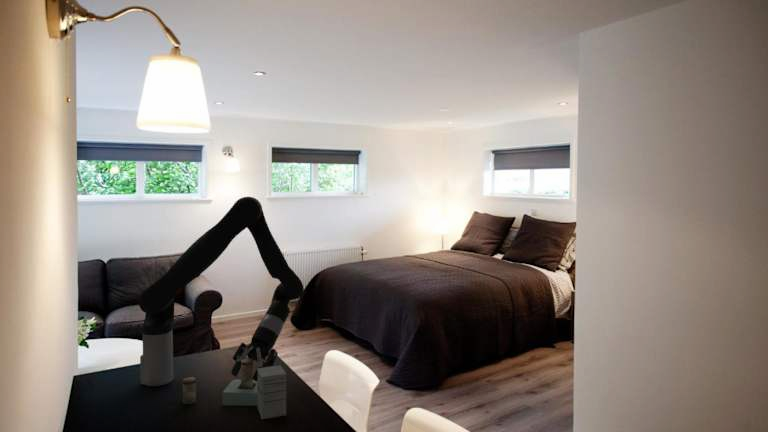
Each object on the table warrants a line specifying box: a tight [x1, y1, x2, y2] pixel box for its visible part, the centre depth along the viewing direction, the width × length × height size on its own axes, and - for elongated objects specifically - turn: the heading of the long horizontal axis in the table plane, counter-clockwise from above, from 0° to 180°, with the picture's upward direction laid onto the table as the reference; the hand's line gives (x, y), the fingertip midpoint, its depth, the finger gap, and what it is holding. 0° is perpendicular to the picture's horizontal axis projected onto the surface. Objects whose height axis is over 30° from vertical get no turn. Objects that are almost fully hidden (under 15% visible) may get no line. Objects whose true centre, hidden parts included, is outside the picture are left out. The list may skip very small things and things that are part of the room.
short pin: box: [182, 376, 197, 405], centre depth 149 cm, size 4×4×7 cm
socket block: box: [222, 378, 257, 407], centre depth 151 cm, size 12×10×4 cm
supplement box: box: [256, 364, 287, 420], centre depth 142 cm, size 7×7×13 cm
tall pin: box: [240, 359, 254, 389], centre depth 151 cm, size 4×4×12 cm
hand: (244, 377), depth 150 cm, fingers open, 8 cm apart
